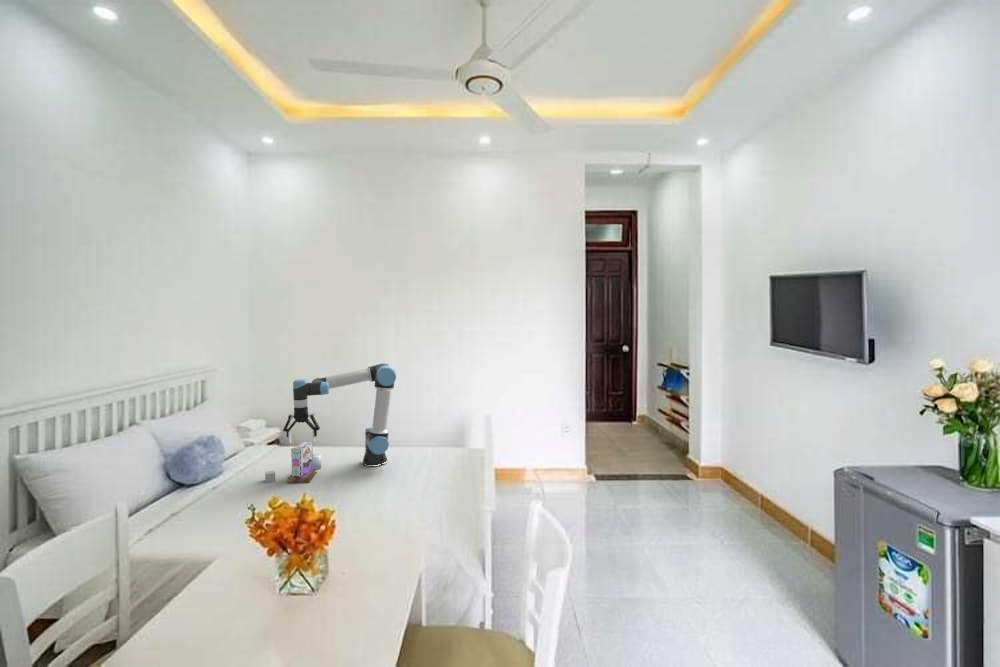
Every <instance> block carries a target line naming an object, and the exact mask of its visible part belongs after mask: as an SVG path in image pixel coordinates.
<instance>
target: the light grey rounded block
mask: <svg viewBox="0 0 1000 667" xmlns="http://www.w3.org/2000/svg"><path fill="white" fill-rule="evenodd" d="M313 468H316V471H318V470H321V469H322V454H320V453H313Z"/></svg>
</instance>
